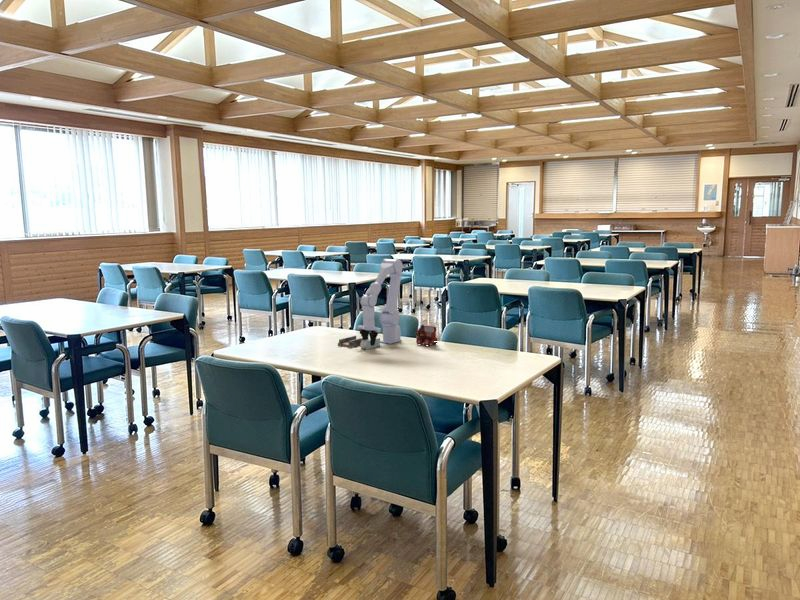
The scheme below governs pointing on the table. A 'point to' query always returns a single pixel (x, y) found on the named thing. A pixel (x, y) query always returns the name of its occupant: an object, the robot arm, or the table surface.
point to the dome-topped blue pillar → (369, 343)
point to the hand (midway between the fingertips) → (369, 344)
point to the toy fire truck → (426, 335)
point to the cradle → (350, 341)
